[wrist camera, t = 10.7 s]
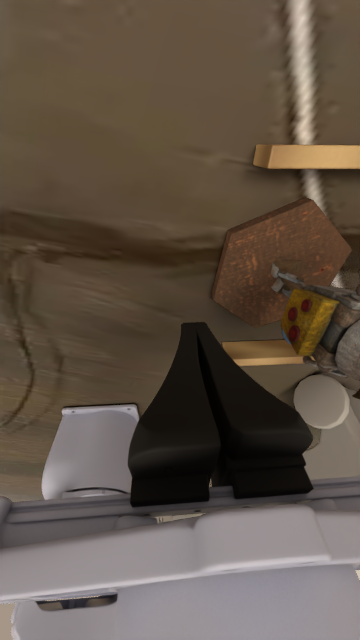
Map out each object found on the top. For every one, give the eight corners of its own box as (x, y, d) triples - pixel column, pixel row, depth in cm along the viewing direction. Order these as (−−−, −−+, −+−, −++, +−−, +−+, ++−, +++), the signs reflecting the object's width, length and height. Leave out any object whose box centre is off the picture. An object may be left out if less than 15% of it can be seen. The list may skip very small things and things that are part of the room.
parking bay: (220, 348, 24) (226, 367, 22) (255, 144, 13) (272, 144, 11) (351, 343, 24) (368, 360, 22) (486, 145, 14) (540, 146, 12)
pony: (252, 443, 39) (296, 593, 26) (207, 431, 35) (233, 601, 22) (360, 385, 30) (517, 577, 17) (316, 358, 26) (477, 586, 12)
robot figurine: (294, 327, 22) (390, 461, 13) (204, 320, 21) (237, 463, 12) (366, 206, 15) (677, 304, 6) (239, 187, 14) (384, 271, 5)
